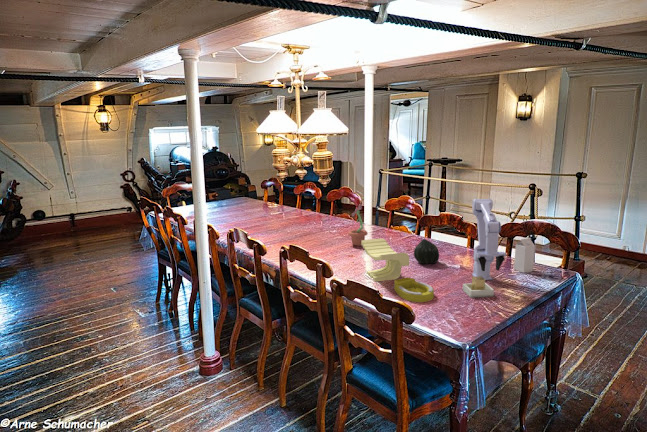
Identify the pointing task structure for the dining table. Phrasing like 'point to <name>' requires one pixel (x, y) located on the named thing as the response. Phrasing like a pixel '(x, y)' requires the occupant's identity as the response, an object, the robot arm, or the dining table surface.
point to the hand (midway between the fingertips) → (490, 270)
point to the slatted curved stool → (383, 251)
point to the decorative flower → (358, 234)
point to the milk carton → (524, 255)
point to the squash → (426, 252)
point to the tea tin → (478, 283)
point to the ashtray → (413, 290)
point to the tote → (478, 291)
